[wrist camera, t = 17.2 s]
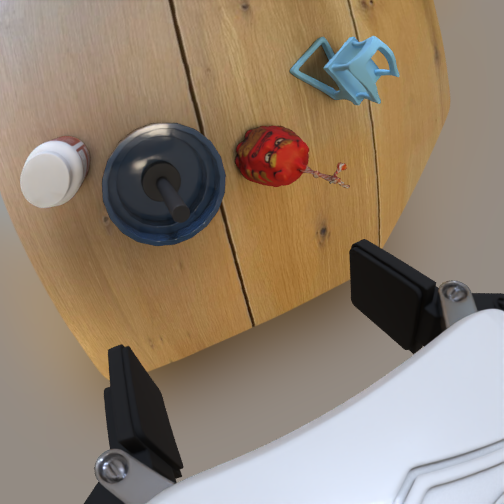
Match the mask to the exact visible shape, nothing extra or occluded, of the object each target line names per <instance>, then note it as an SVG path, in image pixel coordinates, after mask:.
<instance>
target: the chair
mask: <svg viewBox="0 0 504 504" xmlns="http://www.w3.org/2000/svg"><path fill="white" fill-rule="evenodd" d="M320 45H322V47H323V49H324V51H325V53H326V55H327V57H328V60H329V62H328V63H327V64H326V65H325V66H324V68H323V69H324V70H325V71H326V72H327V73H328V74H329V75H330V76H331V77H332V78H333V79H334V81H335V82H336V84H337V85H338V87H339V89H340V90H339V91H336V90H334V89H333V88H331V87H329V86H328V85H326V84H324V83H322V82H320V81H318V80H316V79H314V78H312V77H310V76H308V75H306V74H304V73H302V72H300V71H299V68H300V67H301V66H302V64H303V63H304V62H305V61H306V60H307V59H308V58H309V57H310V56H311V55H312V54H313V52H314V51H315V50H316V49H317V48H318V47H319V46H320ZM377 50H379V51H380V52H381V53H382V54H383V55H384V56H385V57H386V59H387V61H388V64H389V68H390V70H383V69H379V68H378V67H377V65H376V64H375V63H374V62H373V61H372V59H371V57H372V56H373V55H374V54H375V52H376V51H377ZM290 73H291V74H292V75H294V76H295V77H297V78H299V79H300V80H302V81H304V82H306V83H308V84H310V85H312V86H313V87H315V88H317V89H319V90H321V91H322V92H324V93H326V94H327V95H329V96H330V97H331V98H333V99H334V100H340V99H347V100H349V101H351V102H353V104H354V105H360V103H361V102H362V101H363V99H364V98H365V99H369V100H371V101H373V102H376V103H379V104H380V103H381V100H380V98H379V95H378V92H377V87H376V84H375V83H376V81H377V80H378V79H379V78H380V76H381V75H393V76H396V77H399V72H398V70H397V65H396V60H395V56H394V54H393V52H392V51H391V49H390V48H389V47H388V46H387V45H386V44H385V43H383V42H382V41H381V40H379V39H378V38H377V37H375V36H372V37H370V38H368V39H366V40H365V41H363V42H358V41H357V39H356V38H355V37H350V38H349V39H348V40H347V41H346V42H345V43H344V45H343V46H342V47H341V49H340V50H339V51H338V52H337V53H336V54H334V52H333V50H332V48H331V47H330V45H329V43H328V41H327V40H326V39H325V38H324V37H320V38H318V39H317V40H316V41H315V42H314V43H313V44H312V46H311V47H310V48H309V49H308V50H307V51H306V52H305V53H304V54H303V55H302V57H301V58H300V59H299V60H298V61H297V62H296V63H295V64H294V66H293V67H292V68H291V69H290Z"/></svg>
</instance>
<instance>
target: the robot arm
mask: <svg viewBox="0 0 504 504" xmlns="http://www.w3.org/2000/svg"><path fill="white" fill-rule="evenodd" d="M349 254H350V278H351V301H352V303H353V305H354V306H355V307H357V308H358V309H359V310H360V311H361V312H362V313H363V314H364V315H366V316H367V317H368V318H369V319H370V320H371V321H373V322H374V323H375V324H376V325H377V326H378V327H379V328H381V329H382V330H383V331H384V332H385V333H387V334H388V335H389V336H390V337H391V338H392V339H393V340H394V341H396V342H397V343H398V344H399V345H400V346H401V347H402V348H403V349H405V350H410V351H411V352H412V353H413V354H414V353H415V354H414V355H413V356H412V357H410V358H409V359H408V360H406V361H405V362H404V363H402V364H401V365H399V366H398V367H397V368H395V369H394V370H392V371H391V372H390V373H388V374H387V375H385V376H384V377H383V378H381V379H380V380H378V381H377V382H375V383H374V384H372V385H371V386H369V387H368V388H366V389H365V390H363V391H362V392H360V393H358V394H357V395H355V396H354V397H352V398H351V399H349V400H347V401H346V402H344V403H342V404H341V405H339V406H337V407H336V408H334V409H332V410H331V411H329V412H327V413H325V414H324V415H322V416H320V417H318V418H317V419H315V420H313V421H311V422H309V423H307V424H306V425H304V426H302V427H300V428H298V429H296V430H294V431H292V432H291V433H289V434H287V435H285V436H283V437H281V438H279V439H276V440H274V441H272V442H270V443H268V444H266V445H264V446H262V447H260V448H257V449H255V450H253V451H251V452H248V453H246V454H244V455H242V456H239V457H237V458H235V459H233V460H230V461H228V462H225V463H223V464H220V465H218V466H216V467H213V468H210V469H208V470H205V471H203V472H201V473H198V474H196V475H194V476H191V477H189V478H187V479H184V480H182V481H180V482H178V483H176V478H179V477H182V475H181V472H180V469H182V468H183V463H182V460H181V457H180V454H179V451H178V448H177V445H176V442H175V439H174V436H173V432H172V429H171V426H170V423H169V419H168V415H167V412H166V408H165V405H164V401H163V397H162V394H161V392H160V390H159V388H158V387H157V386H156V384H155V383H154V382H153V381H152V379H151V378H150V376H149V374H148V373H147V372H146V370H145V369H144V367H143V366H142V365H141V363H140V362H139V360H138V359H137V357H136V356H135V354H134V353H133V351H132V350H131V348H130V347H129V346H127V347H124V346H123V345H122V344H121V345H118V346H116V347H113V348H111V349H109V350H108V361H109V375H110V387H108V388H105V390H104V400H105V412H106V421H107V430H108V438H109V445H110V450H107V451H105V452H104V453H102V454H101V455H100V456H99V457H98V459H97V461H96V463H95V467H94V469H95V476H96V478H97V480H98V481H99V482H98V484H97V485H96V486H95V488H94V489H93V491H92V492H91V494H90V495H89V497H88V498H87V500H86V501H85V503H84V504H504V294H501V293H500V294H498V293H497V294H492V293H491V294H489V293H486V294H485V293H471V291H470V289H469V288H468V287H467V286H466V285H465V284H463V283H462V282H459V281H453V280H451V281H446V282H444V283H442V284H441V285H440V287H439V288H438V287H436V282H434V281H433V280H431V279H430V278H428V277H427V276H425V275H423V274H422V273H420V272H419V271H417V270H416V269H414V268H412V267H411V266H409V265H408V264H406V263H404V262H403V261H401V260H399V259H398V258H396V257H394V256H393V255H391V254H390V253H388V252H386V251H384V250H383V249H381V248H379V247H378V246H376V245H374V244H373V243H371V242H369V241H368V240H365V239H363V240H361V241H359V242H357V243H354V244H353V245H352V247H351V249H350V252H349ZM422 346H424V347H423V348H422ZM421 348H422V349H421ZM419 349H421V350H419ZM418 350H419V351H418ZM417 351H418V352H417ZM416 352H417V353H416Z"/></svg>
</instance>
